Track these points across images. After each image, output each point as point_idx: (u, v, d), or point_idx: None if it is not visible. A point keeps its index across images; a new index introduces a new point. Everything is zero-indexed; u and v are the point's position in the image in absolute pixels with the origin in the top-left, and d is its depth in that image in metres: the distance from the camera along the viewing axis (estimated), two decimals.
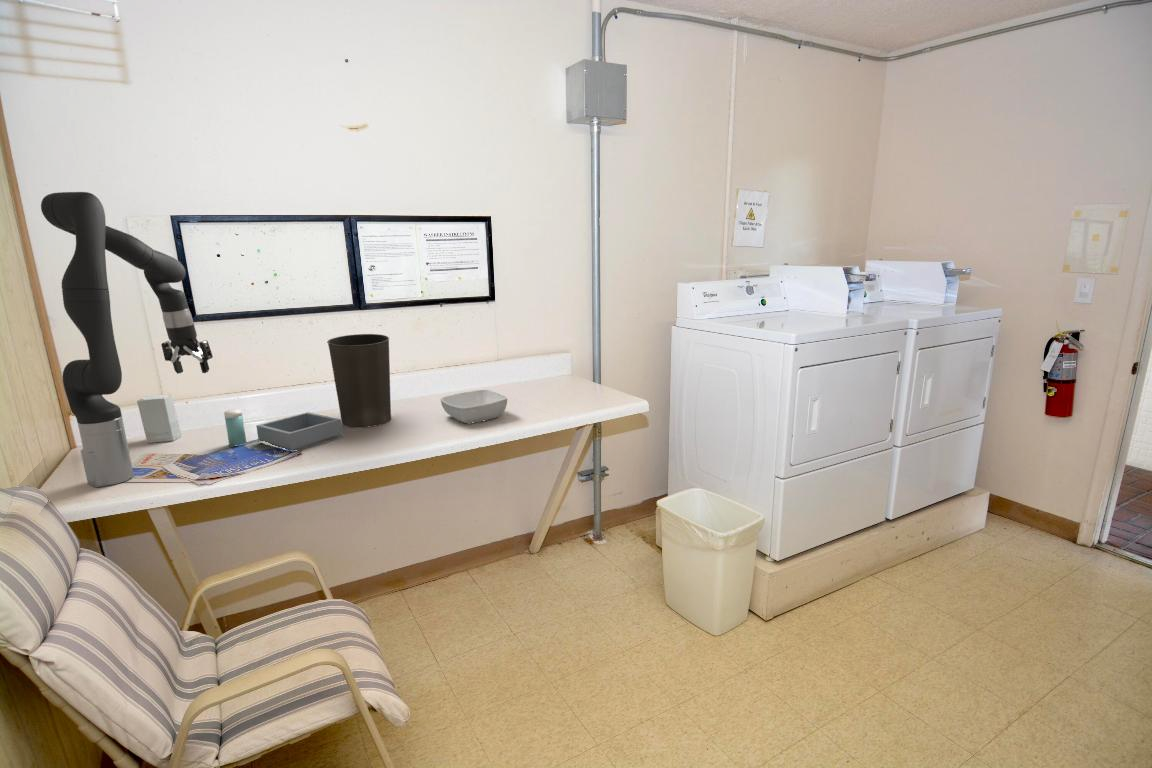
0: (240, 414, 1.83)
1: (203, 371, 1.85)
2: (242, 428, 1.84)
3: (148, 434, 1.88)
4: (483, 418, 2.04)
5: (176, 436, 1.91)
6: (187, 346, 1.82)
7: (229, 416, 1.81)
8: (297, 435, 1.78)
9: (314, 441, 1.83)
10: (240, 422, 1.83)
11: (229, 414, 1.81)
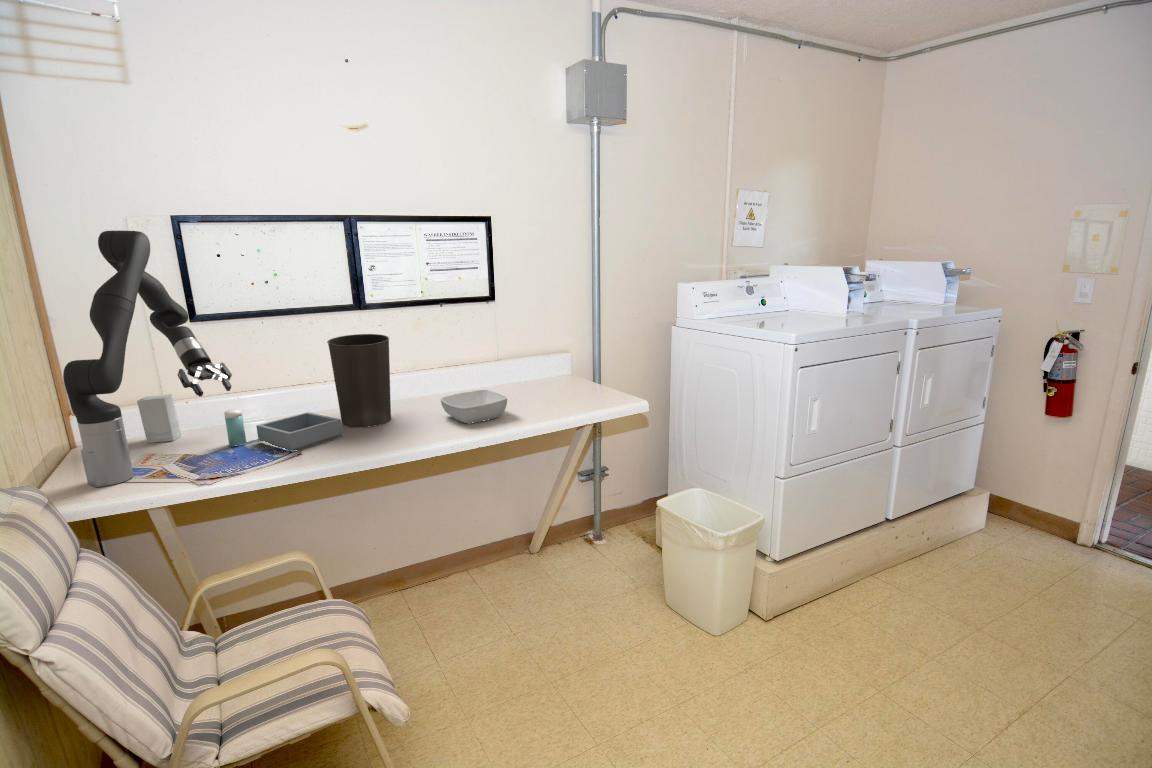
0: (240, 414, 1.83)
1: (229, 386, 1.90)
2: (242, 428, 1.84)
3: (148, 434, 1.88)
4: (483, 418, 2.04)
5: (176, 436, 1.91)
6: None
7: (229, 416, 1.81)
8: (297, 435, 1.78)
9: (314, 441, 1.83)
10: (240, 422, 1.83)
11: (229, 414, 1.81)
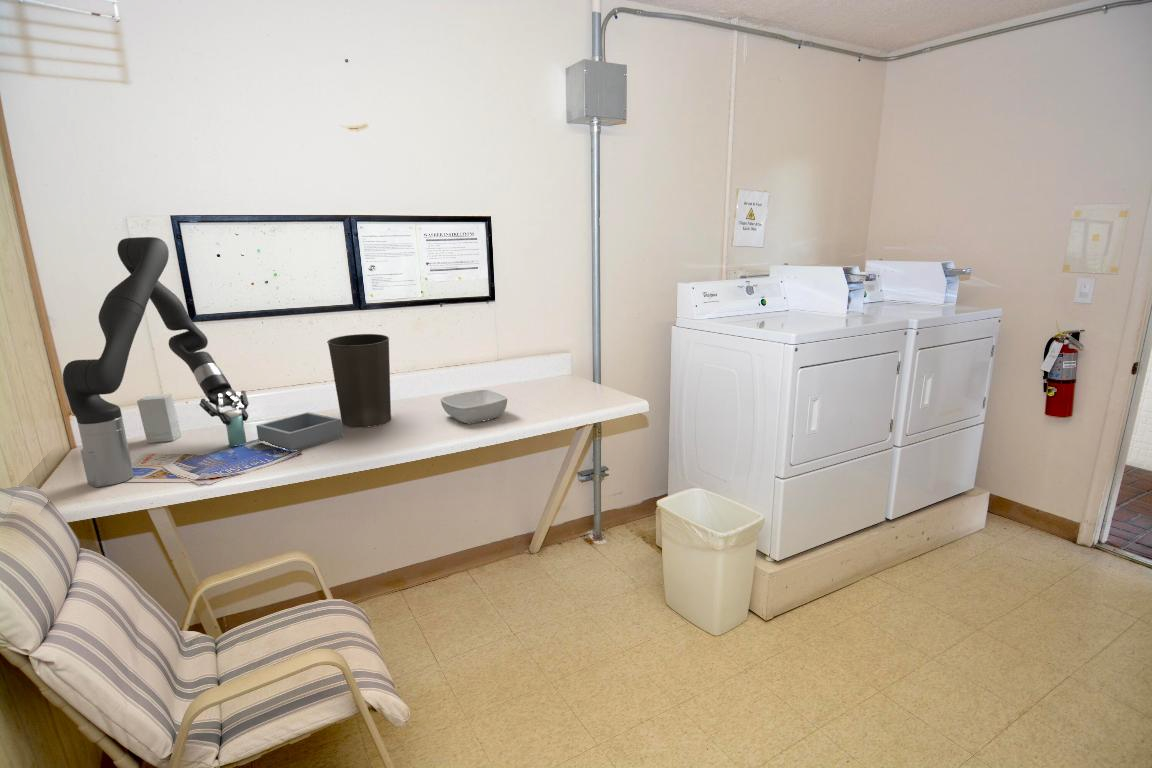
0: (240, 414, 1.83)
1: (246, 415, 1.84)
2: (242, 428, 1.84)
3: (148, 434, 1.88)
4: (483, 418, 2.04)
5: (176, 436, 1.91)
6: None
7: (229, 416, 1.81)
8: (297, 435, 1.78)
9: (314, 441, 1.83)
10: (240, 422, 1.83)
11: (229, 414, 1.81)
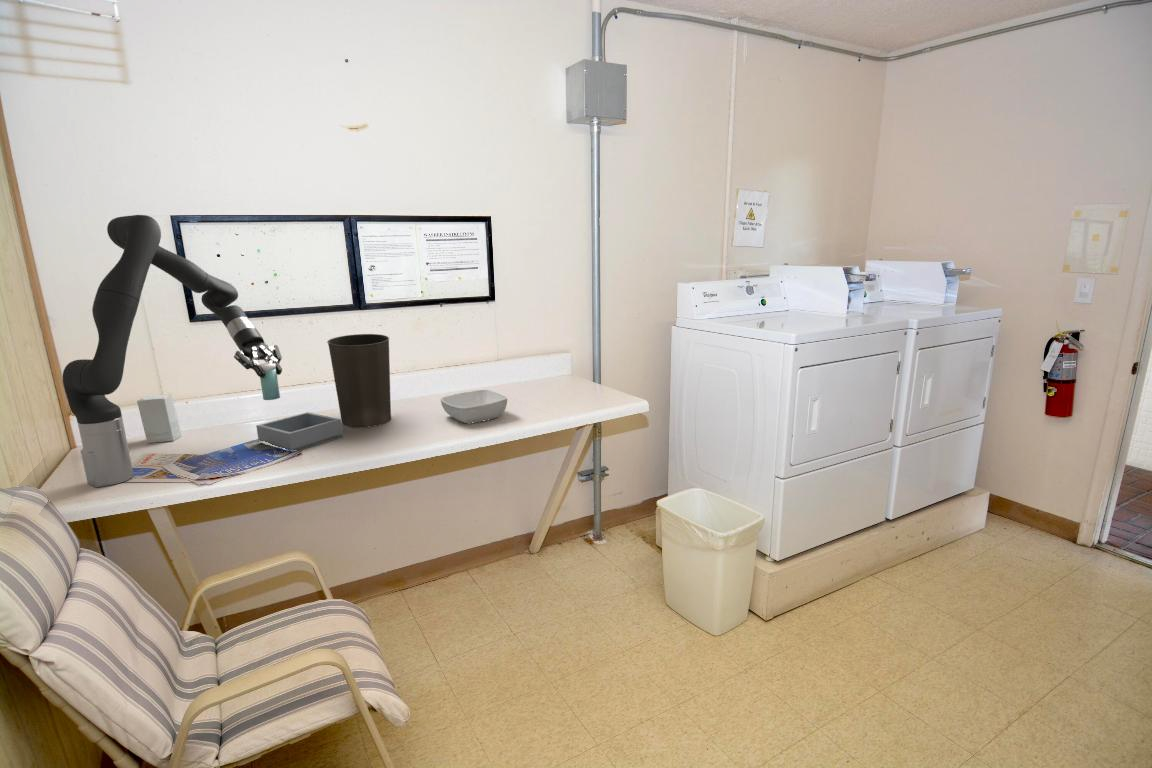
0: (274, 367, 1.82)
1: (280, 369, 1.84)
2: (276, 381, 1.83)
3: (148, 434, 1.88)
4: (483, 418, 2.04)
5: (176, 436, 1.91)
6: None
7: (263, 369, 1.80)
8: (297, 435, 1.78)
9: (314, 441, 1.83)
10: (274, 376, 1.83)
11: (264, 367, 1.80)
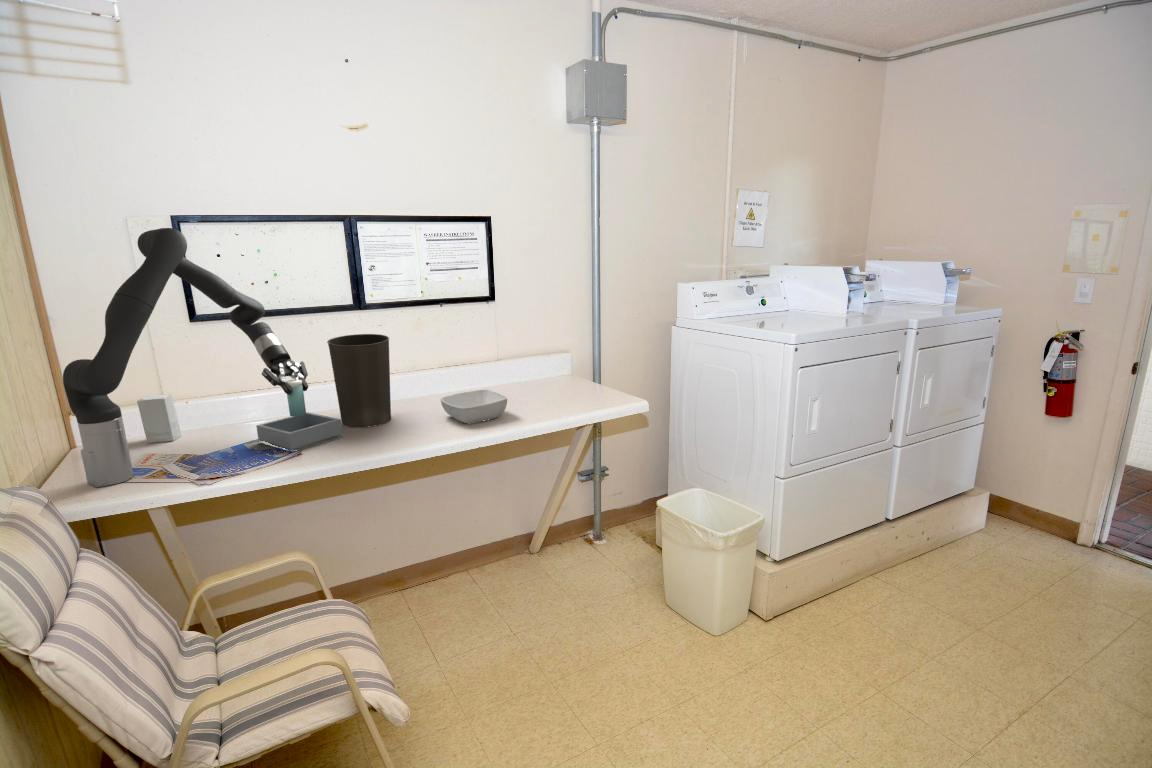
0: (301, 384, 1.84)
1: (306, 385, 1.86)
2: (302, 398, 1.85)
3: (148, 434, 1.88)
4: (483, 418, 2.04)
5: (176, 436, 1.91)
6: None
7: (290, 386, 1.82)
8: (297, 435, 1.78)
9: (314, 441, 1.83)
10: (301, 392, 1.85)
11: (290, 383, 1.82)
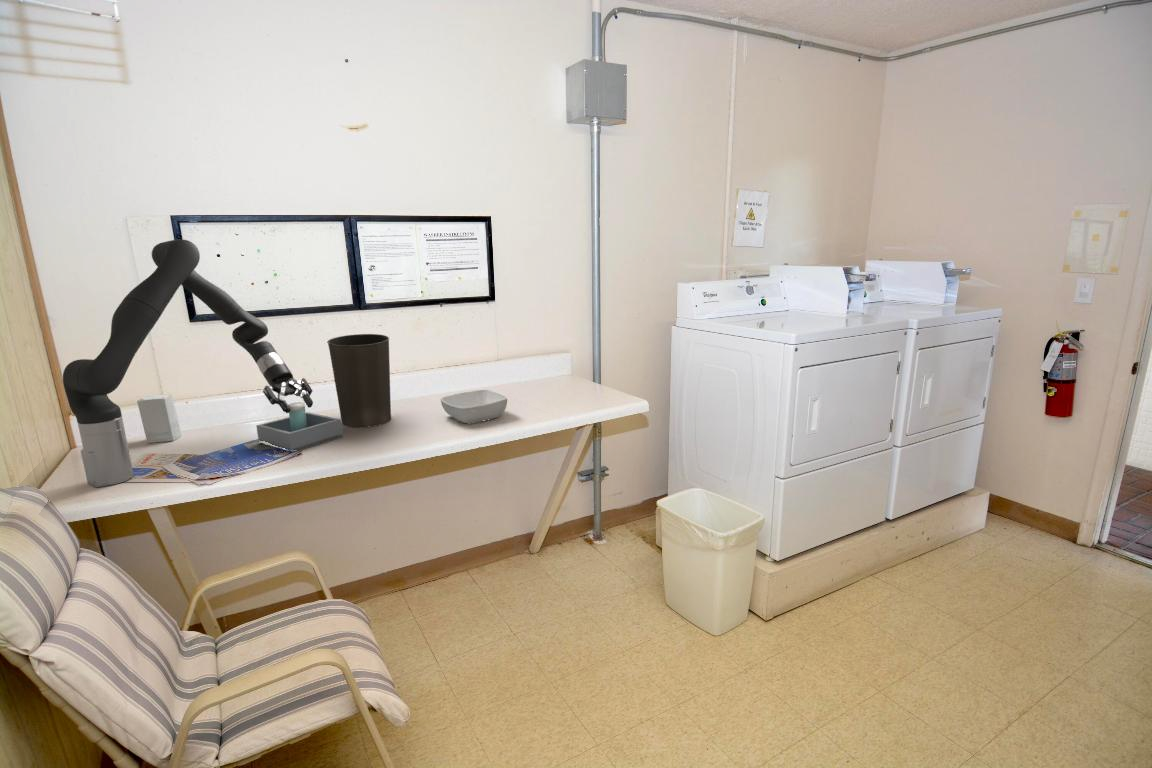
0: (303, 407, 1.86)
1: (311, 402, 1.88)
2: (305, 421, 1.87)
3: (148, 434, 1.88)
4: (483, 418, 2.04)
5: (176, 436, 1.91)
6: None
7: (293, 409, 1.84)
8: (297, 435, 1.78)
9: (314, 441, 1.83)
10: (303, 415, 1.86)
11: (293, 407, 1.84)
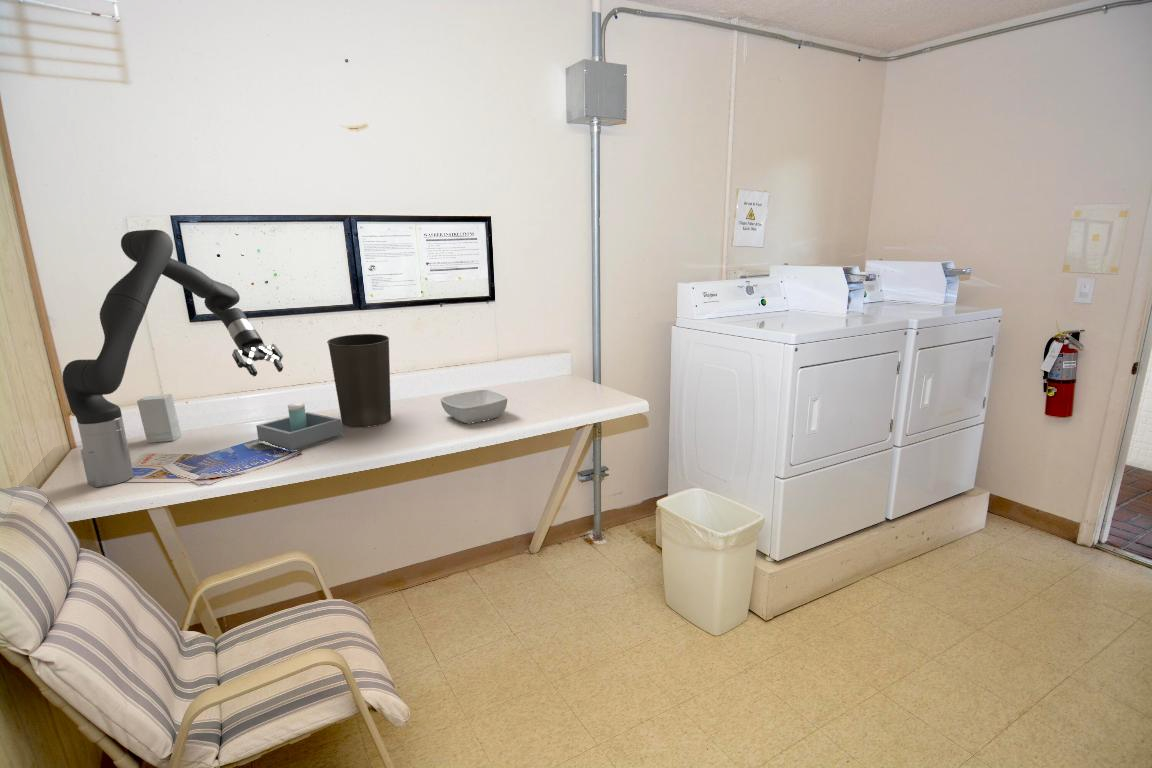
0: (303, 407, 1.86)
1: (281, 366, 1.93)
2: (305, 421, 1.87)
3: (148, 434, 1.88)
4: (483, 418, 2.04)
5: (176, 436, 1.91)
6: None
7: (293, 409, 1.84)
8: (297, 435, 1.78)
9: (314, 441, 1.83)
10: (303, 415, 1.86)
11: (293, 407, 1.84)
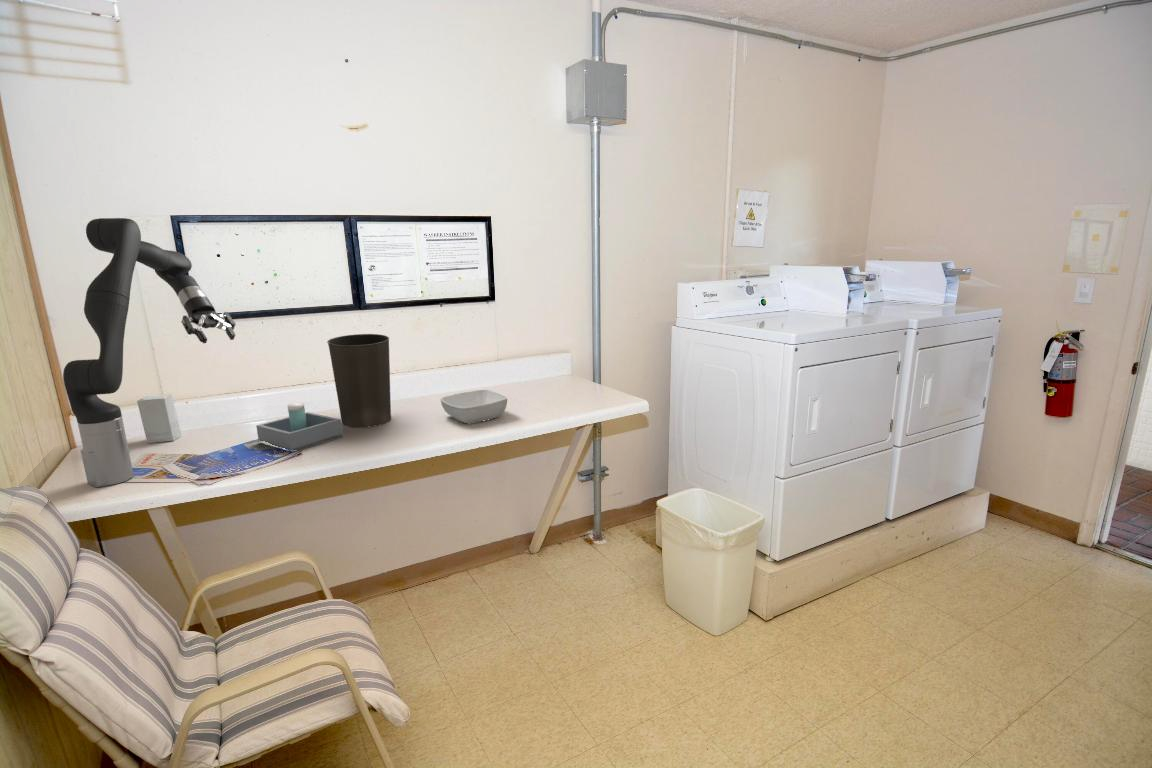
0: (303, 407, 1.86)
1: (233, 334, 1.90)
2: (305, 421, 1.87)
3: (148, 434, 1.88)
4: (483, 418, 2.04)
5: (176, 436, 1.91)
6: None
7: (293, 409, 1.84)
8: (297, 435, 1.78)
9: (314, 441, 1.83)
10: (303, 415, 1.86)
11: (293, 407, 1.84)
